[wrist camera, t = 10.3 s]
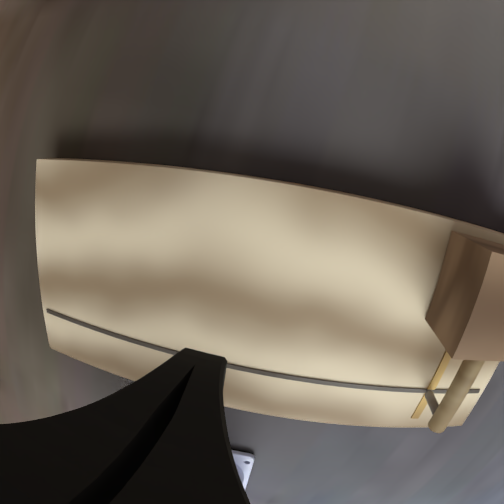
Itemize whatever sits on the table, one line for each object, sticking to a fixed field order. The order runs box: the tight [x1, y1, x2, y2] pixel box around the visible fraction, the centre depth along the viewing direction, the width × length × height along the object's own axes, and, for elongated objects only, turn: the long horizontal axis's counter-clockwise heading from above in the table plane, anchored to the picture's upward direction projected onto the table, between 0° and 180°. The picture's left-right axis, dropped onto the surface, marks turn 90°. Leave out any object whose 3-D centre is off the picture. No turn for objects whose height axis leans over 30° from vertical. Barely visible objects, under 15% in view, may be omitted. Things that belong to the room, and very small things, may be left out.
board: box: [35, 158, 504, 427], centre depth 17 cm, size 14×32×2 cm, turn 82°
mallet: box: [425, 231, 504, 433], centre depth 13 cm, size 10×5×4 cm, turn 172°
